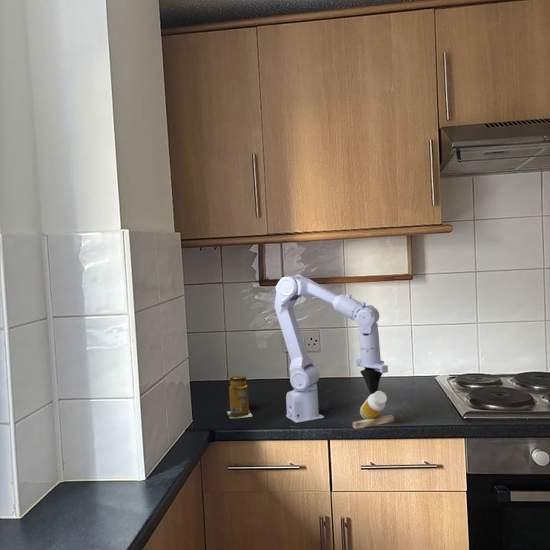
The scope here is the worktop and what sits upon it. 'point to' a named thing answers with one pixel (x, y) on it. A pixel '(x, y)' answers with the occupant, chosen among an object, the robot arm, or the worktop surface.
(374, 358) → the robot arm
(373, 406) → the supplement bottle
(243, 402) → the condiment
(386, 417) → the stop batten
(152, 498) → the worktop surface
